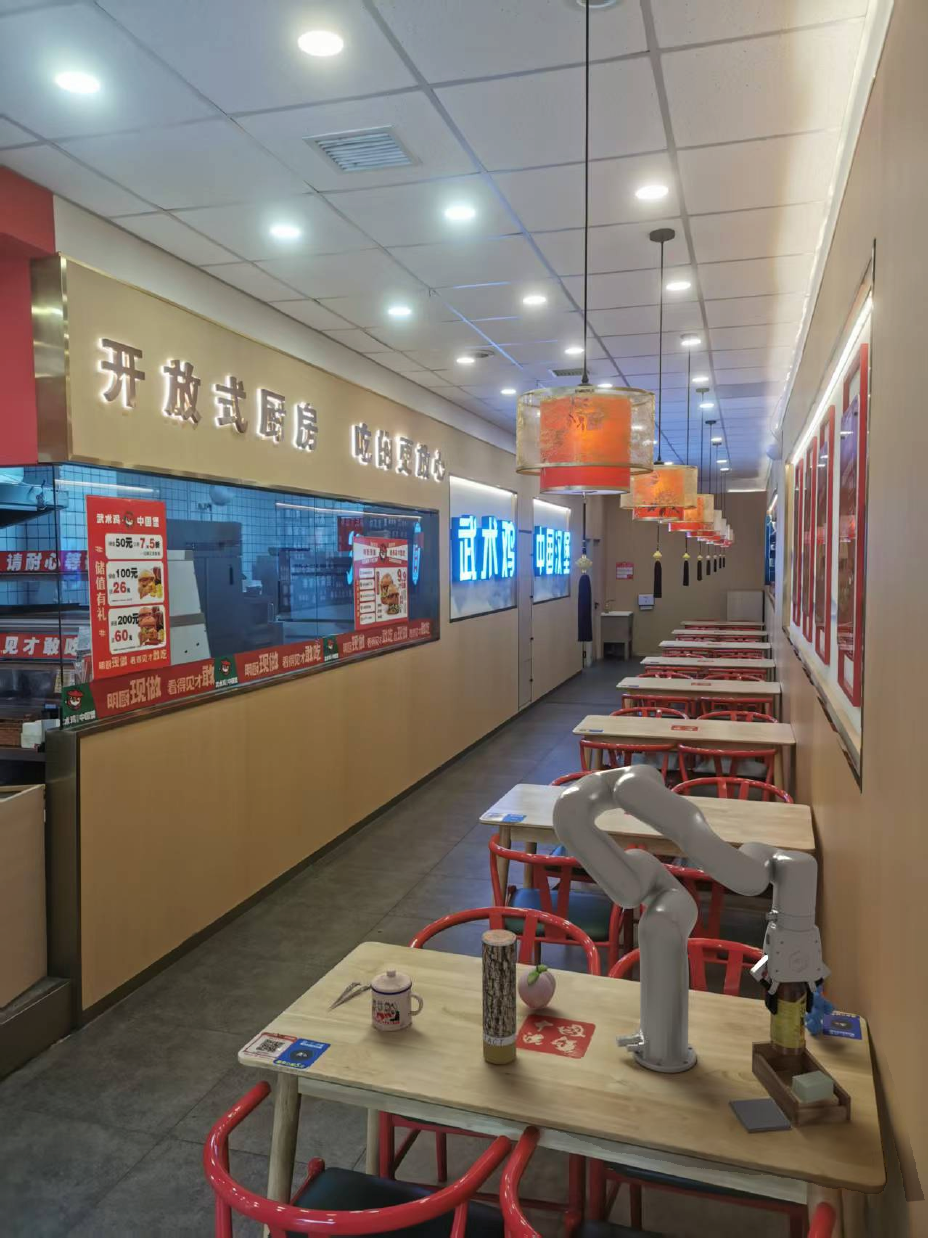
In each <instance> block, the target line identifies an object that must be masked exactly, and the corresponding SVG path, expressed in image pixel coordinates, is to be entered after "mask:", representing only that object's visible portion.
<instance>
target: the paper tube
mask: <svg viewBox="0 0 928 1238" xmlns="http://www.w3.org/2000/svg"><path fill="white" fill-rule="evenodd" d="M516 937H517V936H516V934H515V932H513V931H510V930H508V929H507V930H506V929H490V930H487V931H485V932H484V933H483V934H482V935H481V954H482V955H481V961H482V963H481V966H482V967H481V970H482V971H481V973H482V976H481V977H482V978H481V979H482V980H481V982H482V985H481V986H482V989H481V990H482V994H481V995H482V1055H483V1058H484V1059H485V1061H487V1062H489V1063H491V1064H494V1065H506V1064H509V1063H511V1062H513V1061H514V1060H515V1058H516V1057H517V938H516Z"/></svg>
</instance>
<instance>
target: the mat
mask: <svg viewBox="0 0 928 1238" xmlns="http://www.w3.org/2000/svg"><path fill="white" fill-rule="evenodd" d="M728 1105H729V1106H730V1108H731V1109H732V1111H733V1112H734V1114H735V1115H736V1117H737V1119H738V1120H739V1121H740V1123H741V1124H742V1125H743V1127H744V1128H745V1130H746V1132H747V1133H751V1132H754V1133H755V1132H766V1131H777V1130H778V1131H779V1130H787V1129H788V1130H789V1129H792V1123H791V1122H790V1121H789V1119H788V1118H787V1117H786V1115H785V1114H784V1113H783V1112H782V1110H781V1109H780V1108H779V1106H778V1105H777V1104H776V1102H775V1101H774V1100H773V1098H772V1097H767V1098H765V1097H764V1098H757V1099H756V1098H754V1099H752V1098H751V1099H743V1100H742V1099H740V1100H731V1101H728Z"/></svg>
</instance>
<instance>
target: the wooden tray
mask: <svg viewBox="0 0 928 1238" xmlns="http://www.w3.org/2000/svg"><path fill="white" fill-rule="evenodd" d="M770 1041H771V1040H763V1041H761V1040H760V1041H752V1043H751V1047H752V1048H751V1052H752V1053H751V1072H752V1074H753V1075H754V1076H755V1077H756V1079H757V1080H758V1081H759V1083H760V1085H762V1087H763V1088H764V1089H765V1091H766V1092H767V1093H768V1095H769V1096H770V1098H771V1099H772V1100H773V1102H774V1103H775V1104H776V1106H777V1107H778V1108H779V1109H780V1111H781V1112H782V1113H783V1115H784V1116H785V1117H786V1119H787V1120H788V1121H789V1123H790V1124H791V1126H792V1127H802V1126H812V1125H813V1126H816V1125H825V1124H837V1123H838V1124H840V1123H847V1122H848V1123H849V1122H851V1117H852V1116H851V1113H852V1112H851V1111H852V1097H851V1095H850V1094H848V1092H847V1091H846V1090H845V1089H844V1088H843V1087H842V1086H841V1084H839V1082H838V1081H837V1080H836V1079H835V1078H834V1077H833V1076H832V1075H831V1074H830V1072H828V1070H827V1069H826V1068H825V1067H824V1066H823V1065H822V1064H821V1062H820V1061H818V1059H817V1058H816V1057H815V1056H814V1055H813V1054H812V1053H811V1052H810V1051H809V1049H807V1040H806V1039H805V1044H804V1047H803V1052H802V1053H801V1054H800V1055H798V1056H787V1055H782V1054H780V1053H778V1052H776V1051H775V1050H774V1049H773V1048H772V1047H771V1045H770ZM819 1070H820V1071H821V1072H822V1073H824V1074H825V1075H826V1076H828V1077H829V1078H830V1079H832V1080H833V1093H834V1094H835V1095H836V1096H837V1098H838V1099H839V1106H834V1107H822V1108H810V1109H798V1104H799V1101H798V1100H797V1099H796V1098H795V1096H794V1095H793V1094H792V1093H791V1092H790V1091H791V1090H790V1089H789V1088H788V1086H787V1085H786V1084H785V1083H784V1081H782V1079H781V1078H780V1077H779V1075H778V1074H777V1073H784V1072H796V1071H797V1072H799V1071H801V1072H803V1073H802V1074H807V1073H811V1072H815V1071H819Z"/></svg>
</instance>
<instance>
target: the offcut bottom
mask: <svg viewBox="0 0 928 1238" xmlns="http://www.w3.org/2000/svg"><path fill="white" fill-rule="evenodd" d="M790 1092H791V1093H792V1092H793V1090H790ZM792 1094H793V1095H794V1096H795V1098H796V1099H797V1100H798V1101H799V1104H798V1109H810V1108H822V1107H834V1106H839V1099H838V1098H837V1096H836V1095H835V1094H834V1093H833V1097H831V1098H827V1099H823V1100H819V1101H815V1102H811V1103H807V1104H805V1103H804V1102H803V1101H802V1100H801V1099H799V1098H798V1097H797V1096H796V1095H795V1094H794V1093H792Z"/></svg>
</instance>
